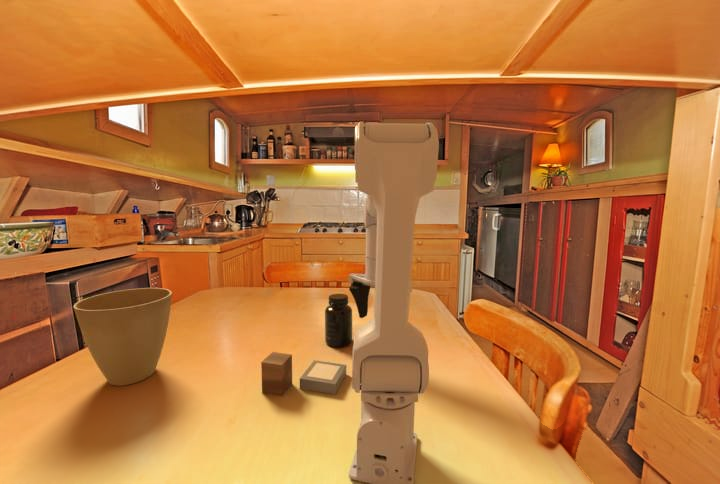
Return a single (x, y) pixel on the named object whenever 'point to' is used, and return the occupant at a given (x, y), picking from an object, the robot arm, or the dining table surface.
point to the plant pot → (125, 331)
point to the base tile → (323, 377)
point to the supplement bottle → (338, 321)
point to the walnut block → (276, 373)
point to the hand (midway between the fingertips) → (377, 320)
